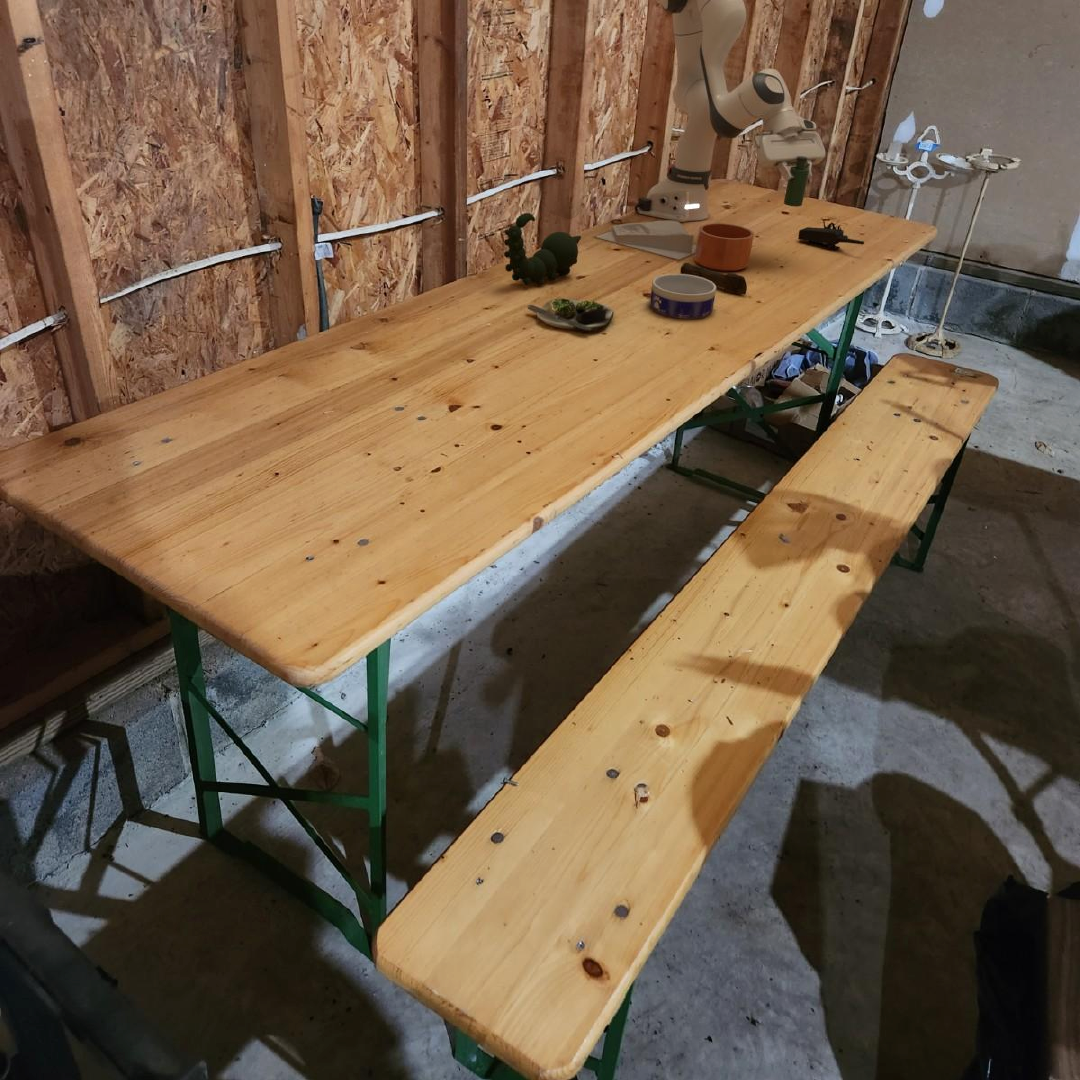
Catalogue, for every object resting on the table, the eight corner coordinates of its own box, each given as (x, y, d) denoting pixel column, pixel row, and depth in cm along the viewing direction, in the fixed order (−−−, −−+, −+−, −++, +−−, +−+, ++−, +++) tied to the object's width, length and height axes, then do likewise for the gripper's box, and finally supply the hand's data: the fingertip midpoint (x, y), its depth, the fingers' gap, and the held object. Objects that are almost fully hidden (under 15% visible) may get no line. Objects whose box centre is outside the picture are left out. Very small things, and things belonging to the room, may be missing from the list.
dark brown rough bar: (677, 278, 242) (680, 261, 240) (686, 275, 245) (689, 257, 242) (739, 298, 232) (742, 280, 230) (747, 295, 235) (751, 277, 232)
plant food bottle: (782, 205, 245) (792, 157, 238) (784, 200, 249) (793, 154, 242) (801, 207, 244) (811, 160, 237) (802, 203, 248) (812, 156, 241)
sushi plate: (516, 325, 209) (517, 305, 206) (539, 300, 223) (540, 281, 220) (599, 339, 205) (601, 319, 202) (617, 312, 219) (619, 293, 216)
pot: (690, 267, 250) (695, 234, 245) (699, 252, 262) (704, 220, 257) (744, 276, 247) (750, 242, 242) (750, 260, 259) (756, 227, 253)
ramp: (595, 237, 268) (596, 218, 265) (624, 226, 279) (626, 208, 276) (678, 260, 255) (681, 240, 252) (706, 248, 266) (709, 228, 263)
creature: (832, 234, 289) (814, 230, 285) (839, 217, 286) (821, 213, 282) (849, 242, 283) (830, 238, 279) (856, 224, 280) (837, 220, 277)
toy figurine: (523, 301, 227) (593, 272, 240) (522, 224, 215) (595, 198, 229) (497, 290, 232) (567, 262, 246) (494, 214, 220) (568, 190, 234)
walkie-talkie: (808, 230, 279) (872, 239, 268) (800, 248, 279) (863, 258, 268) (803, 218, 274) (868, 227, 263) (794, 235, 274) (859, 245, 263)
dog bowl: (636, 305, 224) (639, 280, 221) (676, 292, 233) (679, 268, 230) (686, 324, 215) (689, 299, 212) (725, 310, 224) (729, 286, 221)
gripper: (758, 124, 236) (775, 174, 235) (820, 122, 245) (836, 170, 243) (744, 139, 242) (761, 188, 241) (805, 136, 250) (821, 183, 249)
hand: (799, 178), depth 242 cm, fingers closed on plant food bottle, 5 cm apart
